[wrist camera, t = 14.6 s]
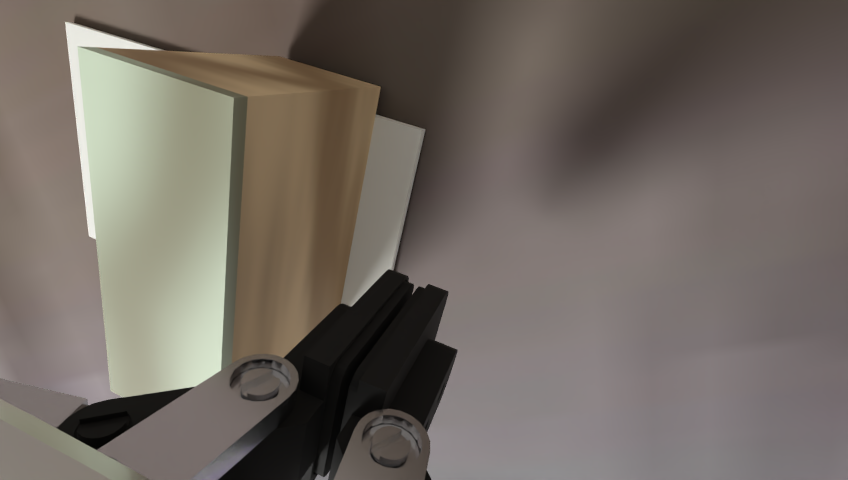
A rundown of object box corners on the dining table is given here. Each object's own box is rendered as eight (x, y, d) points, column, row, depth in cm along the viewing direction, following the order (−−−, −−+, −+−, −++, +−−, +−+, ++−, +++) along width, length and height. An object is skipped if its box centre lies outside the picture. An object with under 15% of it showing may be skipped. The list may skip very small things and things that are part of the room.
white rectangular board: (425, 129, 15) (422, 130, 15) (374, 354, 19) (371, 358, 19) (72, 22, 18) (65, 21, 18) (94, 234, 22) (89, 236, 22)
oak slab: (381, 86, 15) (234, 97, 8) (337, 324, 19) (217, 447, 13) (279, 56, 15) (77, 46, 9) (258, 290, 20) (110, 390, 14)
